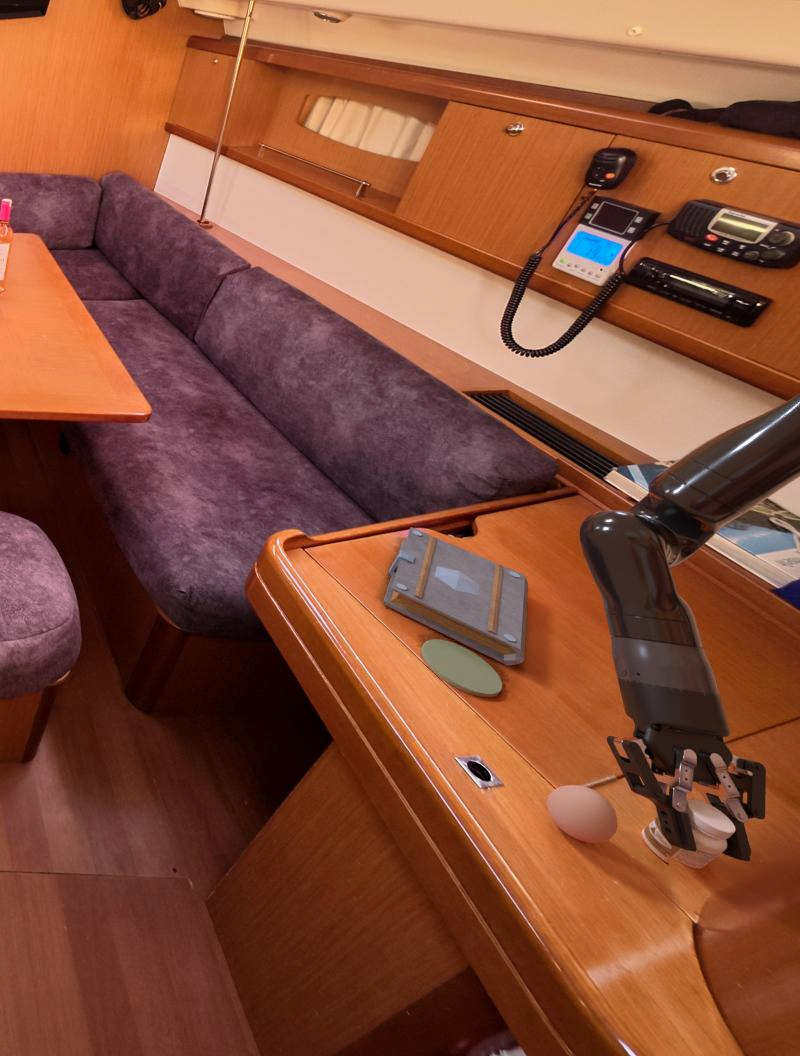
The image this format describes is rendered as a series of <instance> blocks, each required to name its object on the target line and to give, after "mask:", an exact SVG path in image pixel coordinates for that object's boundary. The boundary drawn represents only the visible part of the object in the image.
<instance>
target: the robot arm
mask: <svg viewBox="0 0 800 1056" xmlns="http://www.w3.org/2000/svg"><path fill="white" fill-rule="evenodd" d="M799 478H800V392H799V393H797V394H796V395H795V396H793V397H791V398H790V399H788V400H786V401H784V402H783V403H781V404H780V405H778V406H775V407H774V408H772V409H770V410H768V411H766V412H764V413H762V414H760V415H758V416H756V417H753V418H751V419H749V420H747V421H745V422H742V423H740V424H738V425H736V426H734V427H733V426H732V427H731V428H730V429H727V430H725V431H723V432H721V433H718V434H717V435H715V436H713V437H711V438H710V439H707V440H706V441H705V442H702V443H701V444H699V445H698V446H696V447H695V448H693V449H692V450H690V451H689V452H687V453H686V454H685V455H683V456H682V457H680V458H679V459H678V460H676V461H675V462H674V463H672V464H671V465H670V466H668V467H666V468H665V469H664V470H663V471H661V472H660V473H658V474H657V475H656V476H655V477H654V478H653V479H652V480H651V481H650V482H649V484H648V486H647V488H648V489H647V490H648V493H647V494H646V495H645V496H644V497H642V499H640V500H639V501H638V502H636V503H635V504H634V505H633V506H631V507H630V508H629V509H627V511H625V510H615V509H609V510H600V511H596V512H594V513H592V514H589V515H588V516H587V517H585V518H584V520H583V521H582V523H581V524H580V527H579V532H578V535H579V536H578V538H579V544H580V549H581V552H582V555H583V557H584V560H585V563H586V565H587V568H588V569H589V571H590V574H591V576H592V579H593V581H594V583H595V585H596V587H597V590H598V591H599V593H600V595H601V598H602V601H603V609H604V613H605V618H606V622H607V626H608V631H609V635H610V641H611V642H610V643H611V656H612V663H613V666H614V670H615V675H616V678H617V683H618V687H619V692H620V696H621V700H622V703H623V704H622V705H623V708H624V709H623V710H624V713H625V715H626V716H627V717H628V718H630V719H631V720H632V721H633V724H634V728H633V729H634V730H633V731H632V736H630V737H623V738H622V737H617V736H613V735H608V736H607V737H606V742H607V744H608V746H609V748H610V751H611V752H612V755H613V757H614V759H615V761H616V763H617V765H618V766H619V769H620V771H621V773H622V775H623V777H624V780H625V781H626V783H627V785H628V787H629V790H630V791H631V792H632V793H633V794H636V795H639V796H641V797H643V798H645V799H647V800H649V801H650V802H652V803H653V804H654V806H655V809H656V813H657V817H658V818H659V821H660V825H661V831H662V833H663V835H664V836H665V838H667V840H668V842H669V843H670V844H672V845H674V846H676V847H679V848H682V849H684V850H688V851H693V852H695V851H696V850H697V848H696V844H695V840H694V836H693V832H692V828H691V824H690V820H689V816H688V814H687V813H684V811H685V809H686V801H687V794H689V793H691V792H692V791H693V788H694V789H696V790H697V791H698V792H699V793H700V794H701V796H702V797H703V799H704V802H706V803H708V804H710V805H711V806H713V807H715V808H716V809H718V810H719V811H721V812H722V813H723V814H724V815H726V816H727V817H728V818H729V819H730V820H731V822H732V823H733V824H734V826H735V829H736V831H735V832H734V833H733V834H732V835H731V836H730V837H729V838H727V839H726V841H727V848H726V849H725V850H724V851H723V852H722V853H721V854H723V855H724V856H727V857H730V858H733V859H735V860H738V861H742V862H751V856H752V848H751V845H750V841H749V838H748V834H747V830H746V828H745V824H746V823H747V822H749V820H750V819H758V820H764V819H765V818H766V793H767V792H766V786H767V783H766V782H767V770H766V767H765V766H764V764H763V763H761V762H758V761H755V760H751V759H748V758H743V757H741V756H739V755H737V754H733V753H732V751H731V749H730V748H729V747H728V746H727V744H726V741H725V740H724V738H726V737H729V736H730V735H731V730H730V726H729V722H728V720H727V715H726V712H725V709H724V704H723V701H722V698H721V694H720V691H719V687H718V684H717V679H716V676H715V672H714V670H713V667H712V664H711V663H710V661H709V659H708V657H707V654H706V651H705V649H704V645H703V641H702V638H701V635H700V634H701V633H700V630H699V628H698V624H697V620H696V616H695V615H694V612H693V610H692V608H691V606H690V605H689V603H688V602H687V601H686V600H685V599H684V598H683V597H682V596H681V594H680V593H679V592H678V590H677V587H676V584H675V580H674V577H673V574H672V571H671V569H672V568H675V567H676V566H678V565H680V564H682V563H684V562H685V561H686V560H688V559H689V558H691V557H692V556H693V555H694V554H696V553H697V552H698V551H699V550H700V549H702V547H704V546H705V544H707V543H708V542H709V541H710V540H711V539H712V538H713V537H714V536H716V534H717V533H718V532H719V531H720V530H721V529H722V528H723V527H724V526H725V525H727V524H728V523H730V522H732V521H734V520H735V519H737V518H739V517H741V516H742V515H743V514H746V513H747V512H750V510H753V508H755V507H756V506H758V505H759V504H761V503H762V502H764V501H765V500H767V499H768V498H770V497H772V496H773V495H774V494H776V493H778V492H779V491H780V490H781V489H783V488H785V487H786V486H788V485H789V484H791V483H792V482H794V481H795V480H797V479H799ZM664 775H665V776H664ZM667 788H668V794H667ZM745 793H746V802H744V794H745Z"/></svg>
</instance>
